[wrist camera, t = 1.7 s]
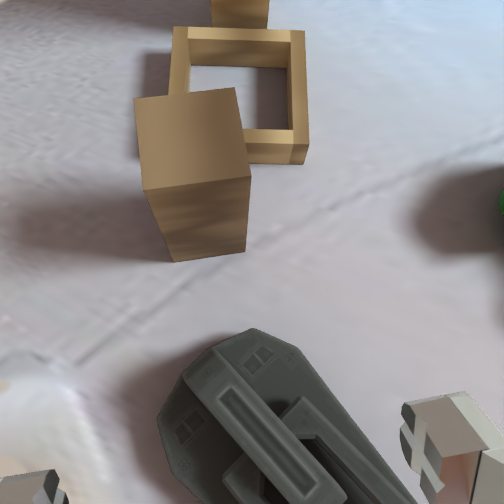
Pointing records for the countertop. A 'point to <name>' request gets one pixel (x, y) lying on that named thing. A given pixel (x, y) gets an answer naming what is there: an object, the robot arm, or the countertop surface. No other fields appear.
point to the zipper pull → (268, 432)
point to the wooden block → (195, 171)
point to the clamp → (501, 201)
